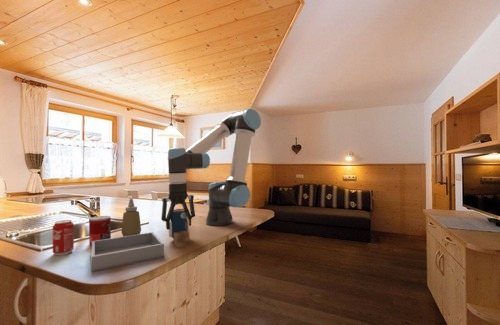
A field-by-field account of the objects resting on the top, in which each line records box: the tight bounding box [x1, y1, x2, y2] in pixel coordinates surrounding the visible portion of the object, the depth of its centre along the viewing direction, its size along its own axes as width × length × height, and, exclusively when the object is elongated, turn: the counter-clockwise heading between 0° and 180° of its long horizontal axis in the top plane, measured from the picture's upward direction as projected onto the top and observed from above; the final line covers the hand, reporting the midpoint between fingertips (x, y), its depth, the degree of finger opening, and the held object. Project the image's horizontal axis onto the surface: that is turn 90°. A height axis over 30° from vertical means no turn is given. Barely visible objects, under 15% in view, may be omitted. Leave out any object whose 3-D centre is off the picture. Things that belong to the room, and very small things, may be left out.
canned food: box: [88, 215, 112, 247], centre depth 104 cm, size 8×8×11 cm
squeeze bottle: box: [121, 198, 142, 237], centre depth 110 cm, size 8×8×18 cm
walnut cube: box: [173, 231, 190, 249], centre depth 100 cm, size 5×5×5 cm
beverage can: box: [52, 219, 75, 256], centre depth 92 cm, size 6×6×12 cm
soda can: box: [170, 208, 187, 240], centre depth 107 cm, size 7×7×12 cm
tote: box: [91, 231, 165, 273], centre depth 89 cm, size 22×20×5 cm
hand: (179, 234), depth 107 cm, fingers closed on soda can, 7 cm apart
